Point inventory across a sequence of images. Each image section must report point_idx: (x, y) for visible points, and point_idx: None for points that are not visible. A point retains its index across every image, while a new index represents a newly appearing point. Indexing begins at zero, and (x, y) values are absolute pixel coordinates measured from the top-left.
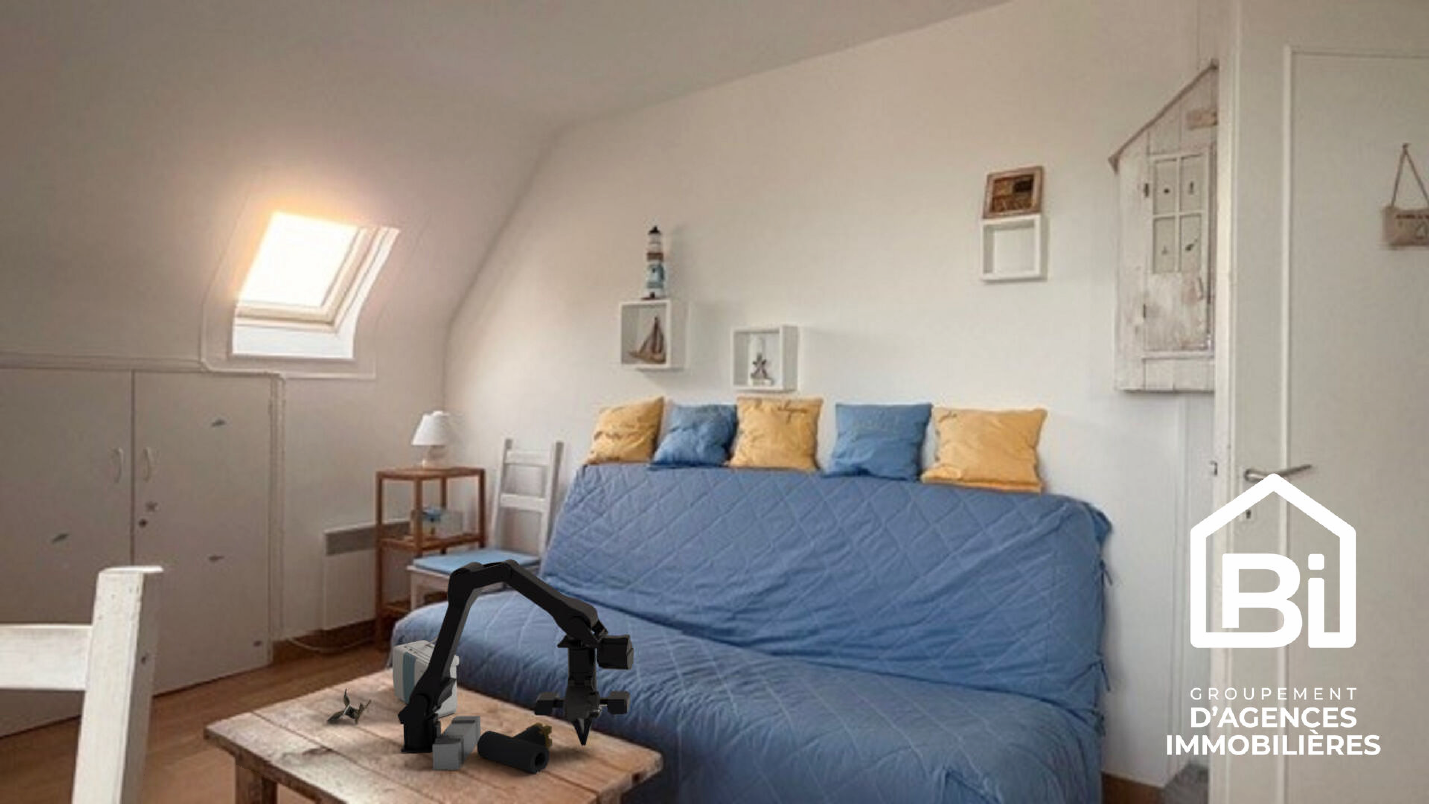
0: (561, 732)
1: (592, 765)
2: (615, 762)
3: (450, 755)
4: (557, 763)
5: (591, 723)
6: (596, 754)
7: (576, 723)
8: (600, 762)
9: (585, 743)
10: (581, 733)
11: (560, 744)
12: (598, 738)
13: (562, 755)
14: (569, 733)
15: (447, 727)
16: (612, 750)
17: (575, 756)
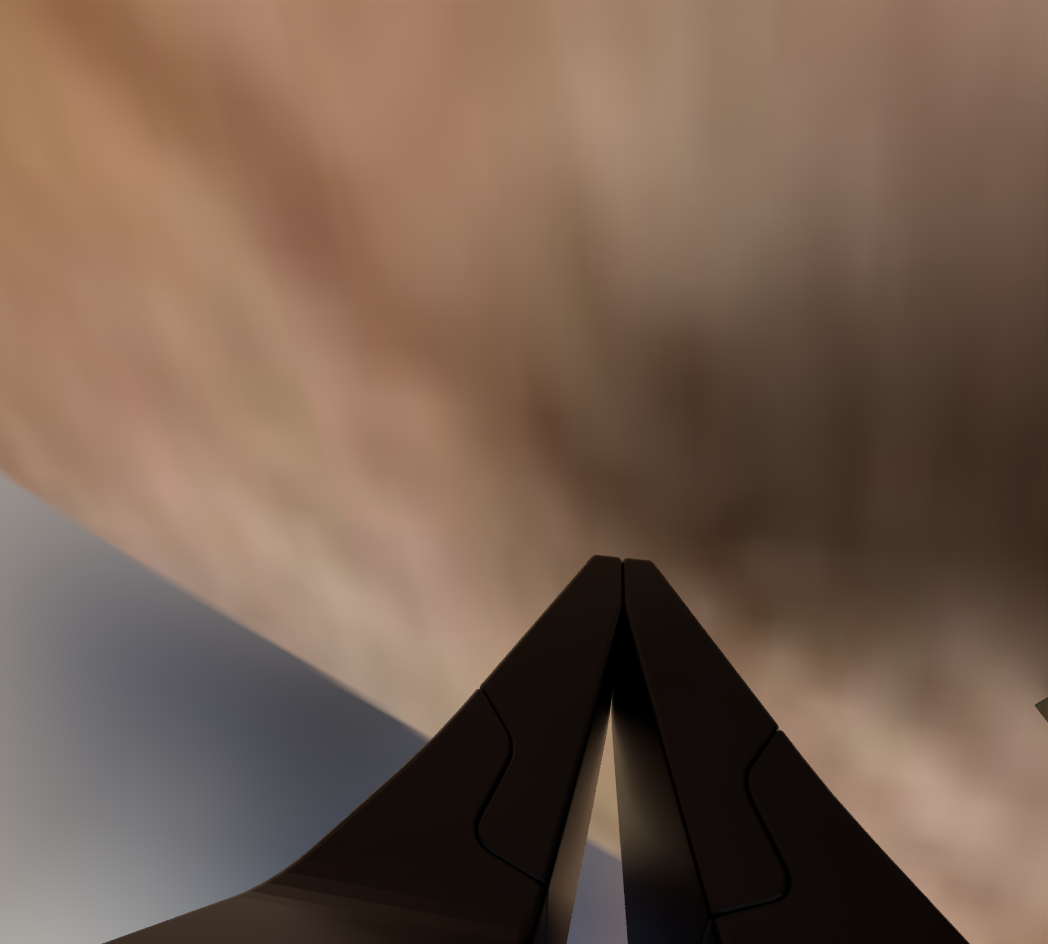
0: None
1: (442, 97)
2: (149, 187)
3: None
4: (1027, 213)
5: (331, 831)
6: (455, 447)
7: (818, 925)
8: (349, 202)
9: (587, 566)
10: (648, 675)
11: (908, 731)
12: None
13: (910, 473)
14: None
15: None
16: (298, 519)
17: (724, 424)
